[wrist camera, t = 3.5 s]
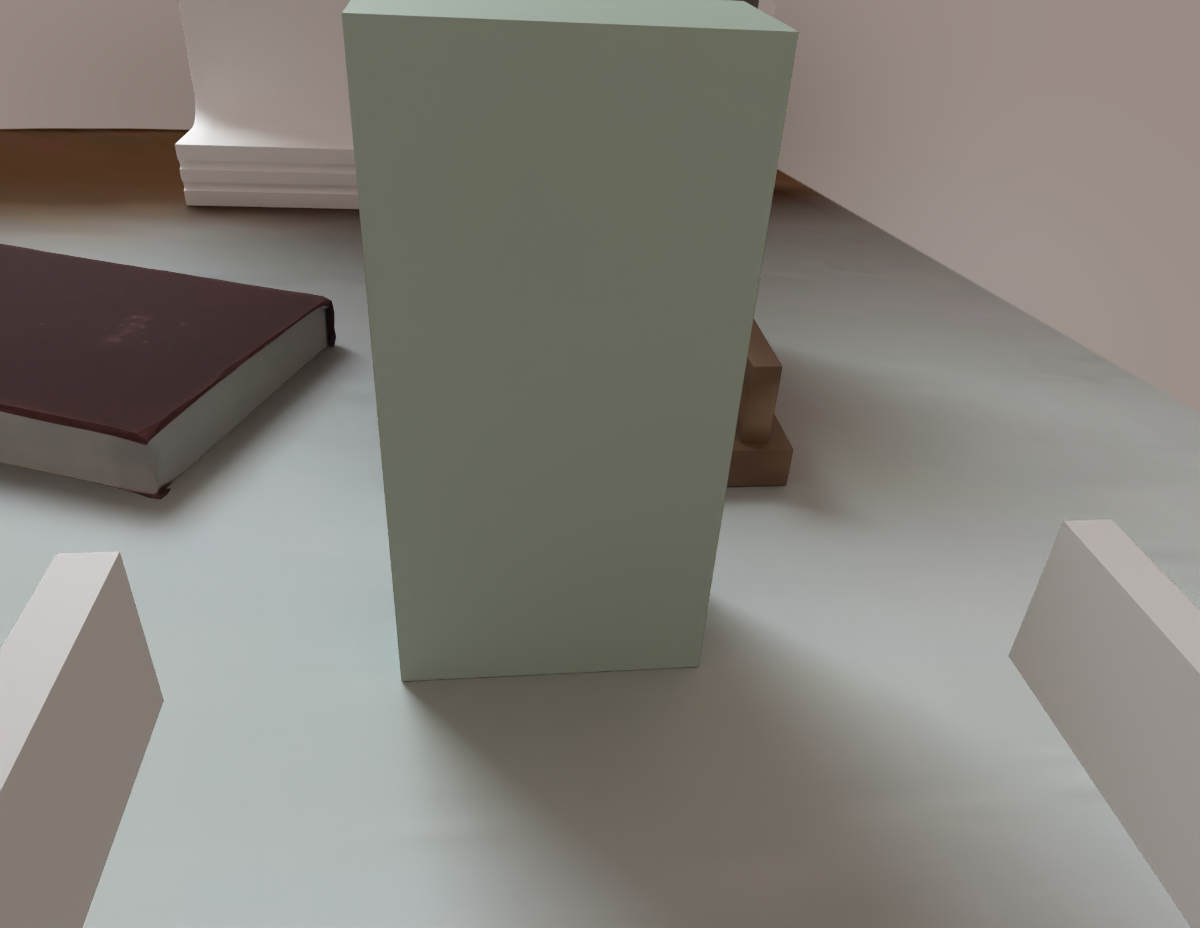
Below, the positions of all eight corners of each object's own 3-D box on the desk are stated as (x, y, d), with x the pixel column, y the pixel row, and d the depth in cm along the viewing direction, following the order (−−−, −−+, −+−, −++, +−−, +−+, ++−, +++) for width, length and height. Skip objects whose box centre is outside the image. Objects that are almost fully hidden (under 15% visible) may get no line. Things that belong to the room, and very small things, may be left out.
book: (-29, 289, 44) (-52, 222, 43) (341, 352, 41) (333, 282, 39) (-301, 415, 34) (-346, 334, 32) (162, 514, 31) (141, 430, 29)
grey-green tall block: (401, 681, 24) (341, 12, 16) (409, 581, 28) (363, -17, 19) (697, 666, 25) (798, 31, 17) (671, 572, 29) (743, 0, 20)
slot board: (386, 494, 31) (331, -116, 22) (406, 328, 42) (376, -129, 32) (786, 484, 33) (899, -82, 23) (707, 328, 44) (763, -105, 34)
